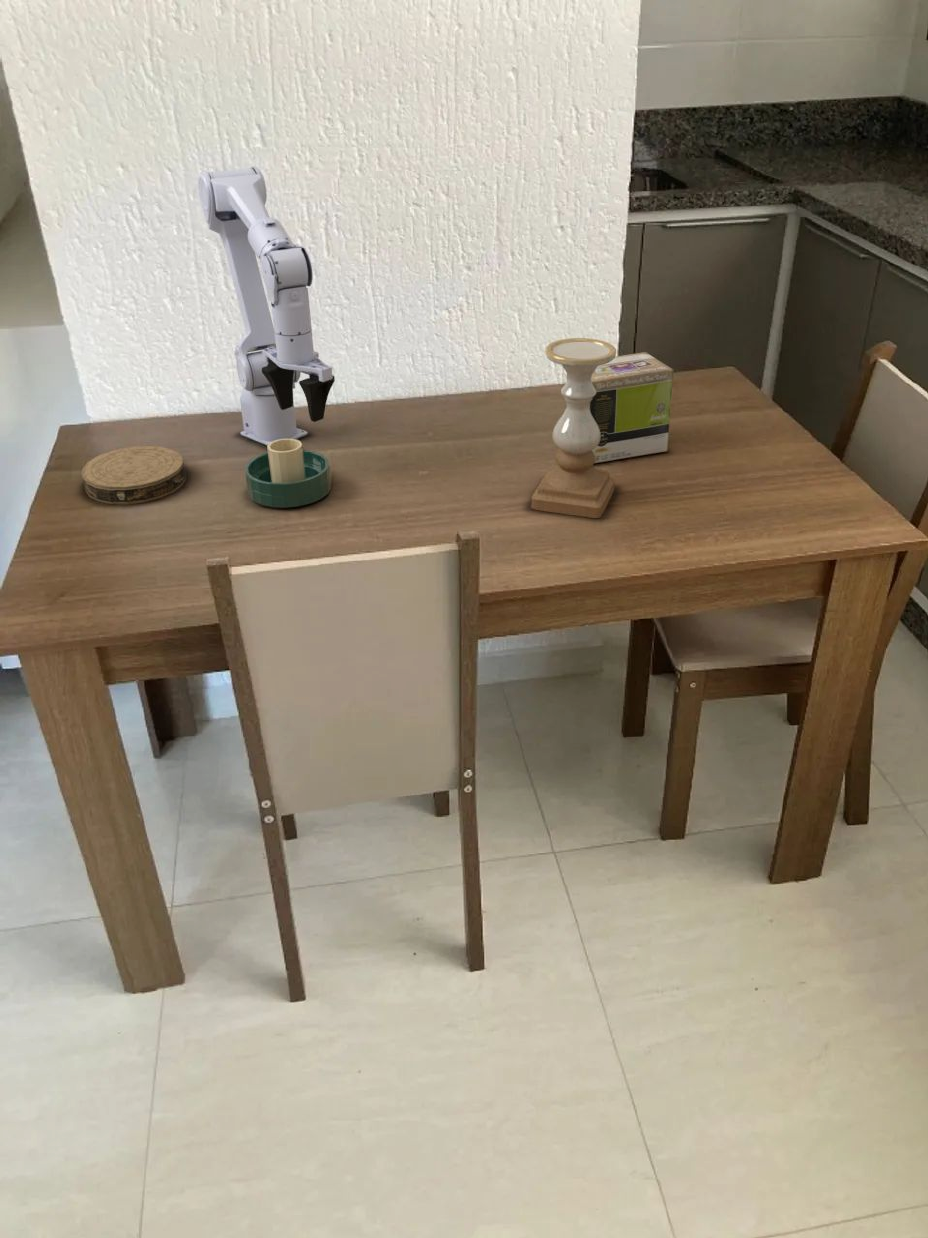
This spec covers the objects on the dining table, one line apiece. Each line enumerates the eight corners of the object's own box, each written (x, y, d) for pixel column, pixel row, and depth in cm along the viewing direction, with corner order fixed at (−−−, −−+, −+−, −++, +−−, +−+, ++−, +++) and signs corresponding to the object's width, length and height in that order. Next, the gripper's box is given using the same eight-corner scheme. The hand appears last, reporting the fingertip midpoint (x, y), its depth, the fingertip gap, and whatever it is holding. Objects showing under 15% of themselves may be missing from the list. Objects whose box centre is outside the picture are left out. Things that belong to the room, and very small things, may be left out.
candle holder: (615, 488, 162) (626, 340, 149) (599, 519, 153) (610, 364, 140) (548, 479, 165) (553, 333, 152) (529, 509, 157) (533, 356, 143)
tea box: (641, 431, 181) (648, 349, 173) (667, 453, 173) (676, 368, 165) (562, 443, 177) (566, 360, 169) (586, 466, 169) (591, 380, 161)
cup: (266, 488, 163) (260, 445, 159) (293, 478, 166) (288, 435, 162) (285, 499, 159) (280, 455, 155) (313, 488, 162) (308, 444, 158)
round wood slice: (96, 464, 172) (92, 448, 171) (191, 459, 174) (188, 443, 172) (75, 507, 159) (71, 490, 158) (179, 501, 160) (176, 484, 159)
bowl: (232, 494, 162) (228, 468, 160) (294, 467, 170) (291, 442, 168) (285, 518, 155) (281, 491, 153) (347, 489, 163) (345, 463, 161)
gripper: (344, 333, 155) (350, 417, 163) (283, 314, 163) (291, 395, 171) (308, 345, 151) (317, 430, 158) (247, 325, 159) (258, 408, 166)
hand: (301, 413), depth 164 cm, fingers open, 7 cm apart
